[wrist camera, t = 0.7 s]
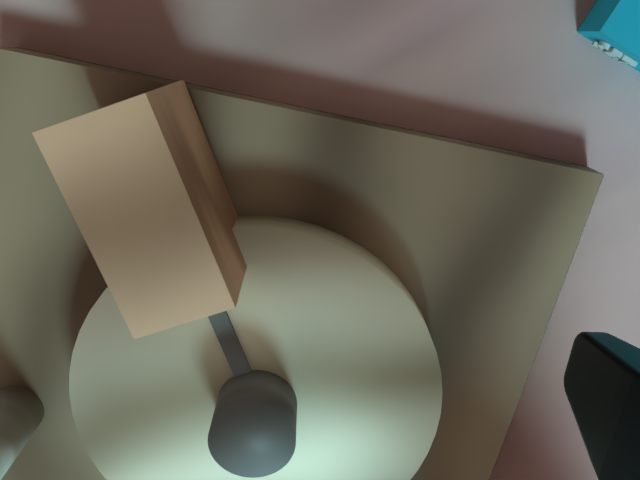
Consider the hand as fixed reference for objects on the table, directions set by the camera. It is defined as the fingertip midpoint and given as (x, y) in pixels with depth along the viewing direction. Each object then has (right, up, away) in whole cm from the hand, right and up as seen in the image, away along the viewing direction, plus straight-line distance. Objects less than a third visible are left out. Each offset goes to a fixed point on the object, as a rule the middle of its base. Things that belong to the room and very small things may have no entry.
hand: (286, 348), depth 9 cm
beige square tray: (-2, -3, +14) cm, 15 cm away
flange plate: (-2, -2, +12) cm, 13 cm away
